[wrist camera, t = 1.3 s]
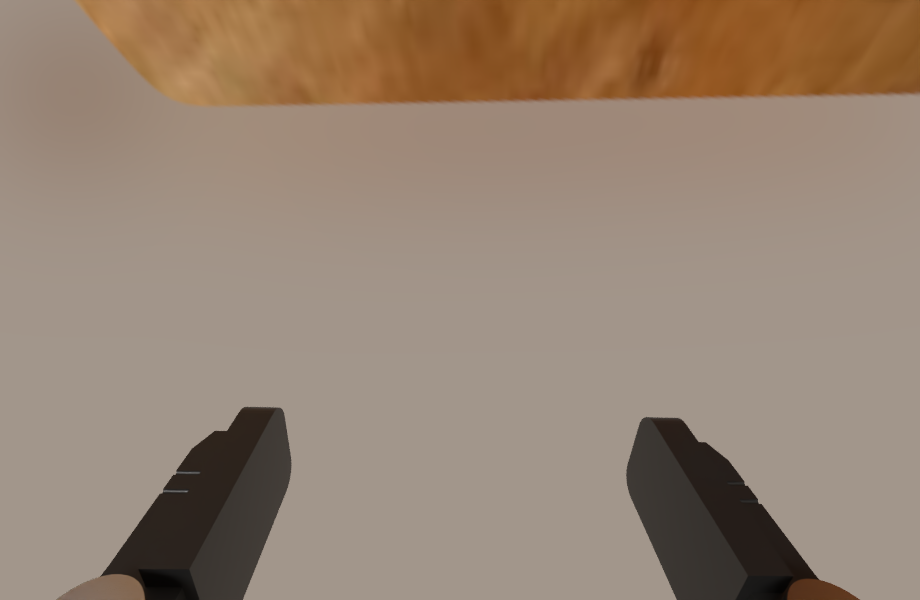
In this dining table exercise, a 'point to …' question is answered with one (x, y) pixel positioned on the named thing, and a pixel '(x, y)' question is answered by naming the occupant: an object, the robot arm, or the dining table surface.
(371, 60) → the dining table surface
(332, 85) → the dining table surface
